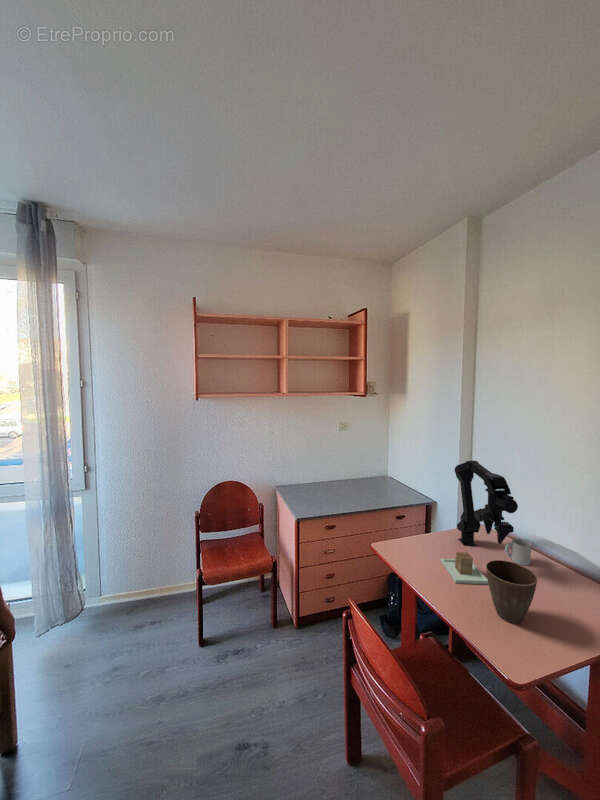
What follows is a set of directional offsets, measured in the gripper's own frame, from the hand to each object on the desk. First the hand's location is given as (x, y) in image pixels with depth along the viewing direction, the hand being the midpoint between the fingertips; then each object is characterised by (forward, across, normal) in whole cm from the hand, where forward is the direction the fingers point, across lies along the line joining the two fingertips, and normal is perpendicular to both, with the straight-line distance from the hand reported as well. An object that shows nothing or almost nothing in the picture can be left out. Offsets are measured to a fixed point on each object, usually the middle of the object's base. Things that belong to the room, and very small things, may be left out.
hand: (493, 538), depth 145 cm
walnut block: (+11, +7, -16) cm, 21 cm away
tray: (+12, +7, -16) cm, 21 cm away
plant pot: (+12, +33, -12) cm, 37 cm away
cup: (+12, -4, +13) cm, 18 cm away
